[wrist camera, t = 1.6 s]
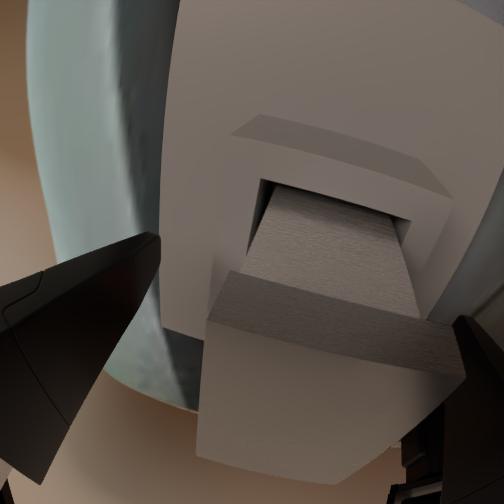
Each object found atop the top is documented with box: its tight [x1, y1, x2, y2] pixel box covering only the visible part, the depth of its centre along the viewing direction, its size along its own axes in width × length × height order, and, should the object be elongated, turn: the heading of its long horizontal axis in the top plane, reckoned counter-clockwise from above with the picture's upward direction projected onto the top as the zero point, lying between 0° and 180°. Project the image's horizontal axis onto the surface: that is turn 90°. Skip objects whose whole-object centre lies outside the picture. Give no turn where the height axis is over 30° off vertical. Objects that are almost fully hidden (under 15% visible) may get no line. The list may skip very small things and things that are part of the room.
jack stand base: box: [159, 0, 504, 340], centre depth 12 cm, size 14×20×6 cm
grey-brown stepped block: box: [196, 183, 467, 485], centre depth 9 cm, size 4×5×9 cm
